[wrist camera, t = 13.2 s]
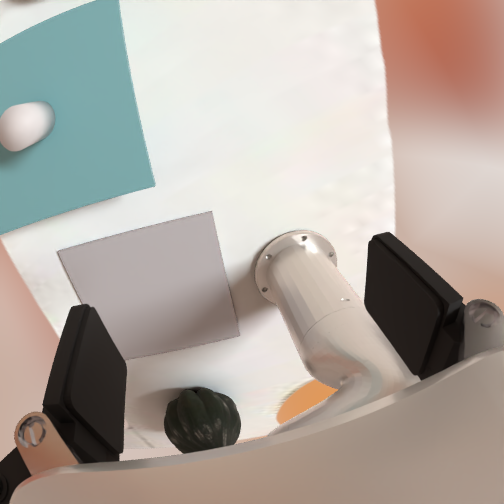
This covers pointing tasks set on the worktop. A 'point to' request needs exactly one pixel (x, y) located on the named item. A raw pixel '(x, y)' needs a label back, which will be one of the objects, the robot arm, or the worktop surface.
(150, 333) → the mat
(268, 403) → the worktop surface
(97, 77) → the lid
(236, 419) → the squash
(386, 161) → the worktop surface
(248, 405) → the worktop surface
